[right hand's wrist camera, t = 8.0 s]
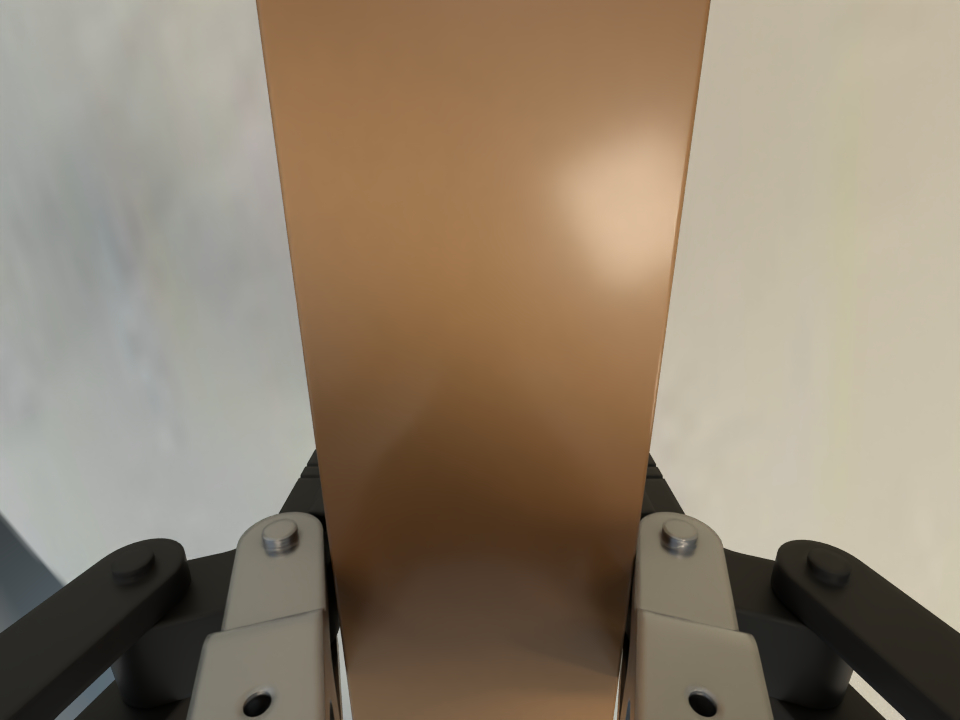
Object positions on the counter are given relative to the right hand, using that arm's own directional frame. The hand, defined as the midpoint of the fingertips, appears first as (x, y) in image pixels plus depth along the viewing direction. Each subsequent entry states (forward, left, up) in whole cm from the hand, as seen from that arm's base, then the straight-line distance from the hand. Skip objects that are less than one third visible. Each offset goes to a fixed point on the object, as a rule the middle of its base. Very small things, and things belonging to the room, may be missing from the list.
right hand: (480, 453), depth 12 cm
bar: (+8, -25, -2) cm, 26 cm away
